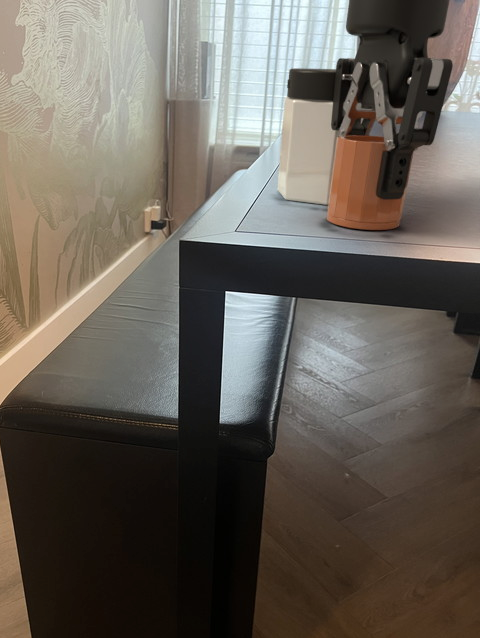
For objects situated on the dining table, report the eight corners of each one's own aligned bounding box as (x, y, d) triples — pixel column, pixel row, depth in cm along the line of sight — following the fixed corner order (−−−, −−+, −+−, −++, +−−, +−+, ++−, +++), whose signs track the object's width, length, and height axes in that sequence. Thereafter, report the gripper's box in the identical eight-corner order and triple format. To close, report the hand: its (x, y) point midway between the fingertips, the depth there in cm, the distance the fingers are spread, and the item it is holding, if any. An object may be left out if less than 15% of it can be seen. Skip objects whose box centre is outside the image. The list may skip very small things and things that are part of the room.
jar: (321, 185, 70) (334, 68, 64) (375, 199, 64) (395, 71, 58) (259, 192, 65) (268, 67, 59) (311, 208, 59) (326, 71, 53)
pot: (376, 213, 58) (389, 135, 55) (413, 229, 53) (430, 143, 50) (315, 214, 57) (325, 134, 53) (346, 231, 51) (360, 142, 48)
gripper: (511, -45, 41) (454, 207, 48) (397, -21, 53) (365, 177, 61) (413, -55, 39) (370, 208, 46) (318, -28, 51) (296, 177, 59)
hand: (367, 190), depth 53 cm, fingers closed on pot, 6 cm apart
